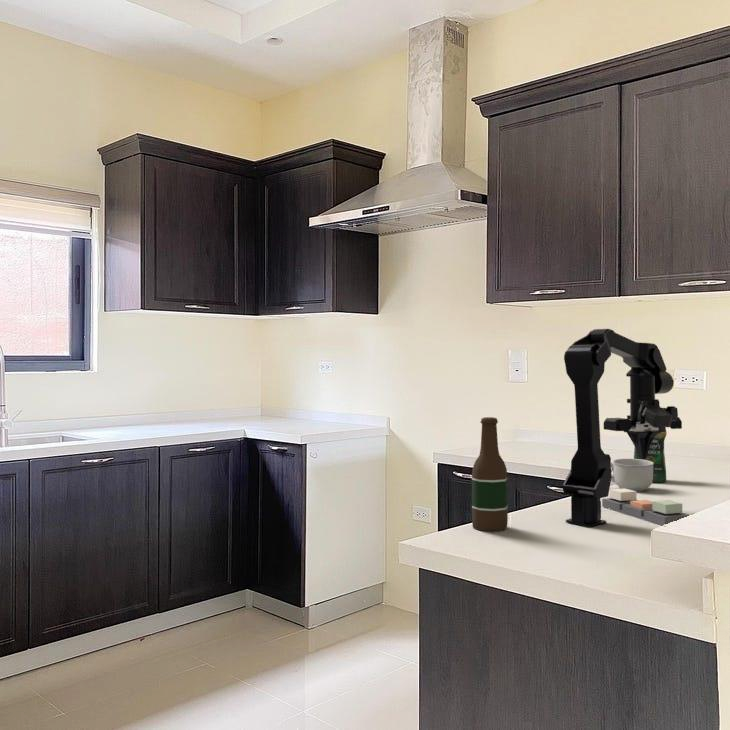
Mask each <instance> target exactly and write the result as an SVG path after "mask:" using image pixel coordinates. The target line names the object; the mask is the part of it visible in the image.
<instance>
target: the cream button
mask: <svg viewBox="0 0 730 730" xmlns="http://www.w3.org/2000/svg"><path fill="white" fill-rule="evenodd" d="M637 495H638V494H637V491H633V490H629V489H621V488H613V489H609V498H613V499H616V500H620V501H626V500H638V498H637Z"/></svg>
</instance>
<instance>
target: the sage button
mask: <svg viewBox="0 0 730 730" xmlns="http://www.w3.org/2000/svg"><path fill="white" fill-rule="evenodd" d="M651 501H652V510H654V511H657V512H661V513H664V514H670V513H683V503H681V502H679V501H674V500H670V499H666V500H665V499H664V500H663V499H662V500H651Z"/></svg>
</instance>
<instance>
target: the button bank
mask: <svg viewBox="0 0 730 730" xmlns="http://www.w3.org/2000/svg"><path fill="white" fill-rule="evenodd" d="M630 501H636V500H626V501H620V500H616V499H613V498H610V497H604V498H601V507H602V506H604V507H603V508H605V507H607V508H606V509H608V508H610V509H609V510H611V509H613V510H612V511H614V510H615V512H617V511H618V513H620V514H624V515H627V516H630V517H633V518H637V519H640V520H643V521H646V522H649V523H653V524H655V525H659V526H662V525H664V524H668V523H670V522H673V521H677V520H679V519H681V518H684V517H687V516H689V515H690V514H689V513H685V512H682V513H670V514H664V513H661V512H657V511H654V510H652V508H650V509H640V508H636V507H633V506H630Z"/></svg>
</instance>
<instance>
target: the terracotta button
mask: <svg viewBox="0 0 730 730" xmlns="http://www.w3.org/2000/svg"><path fill="white" fill-rule="evenodd" d="M652 501H653V500H648V499H637V500H636V501H630V506H633V507H636V508H640V509H650V508H652Z"/></svg>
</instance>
